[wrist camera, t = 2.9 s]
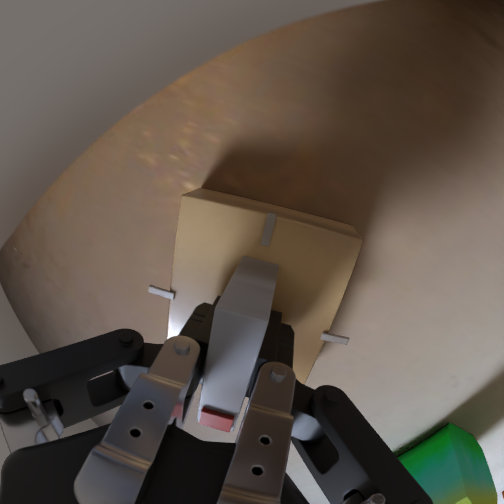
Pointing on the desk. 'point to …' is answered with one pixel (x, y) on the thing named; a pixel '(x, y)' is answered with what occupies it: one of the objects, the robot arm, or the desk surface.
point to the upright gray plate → (236, 342)
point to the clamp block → (269, 250)
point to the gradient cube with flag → (451, 468)
